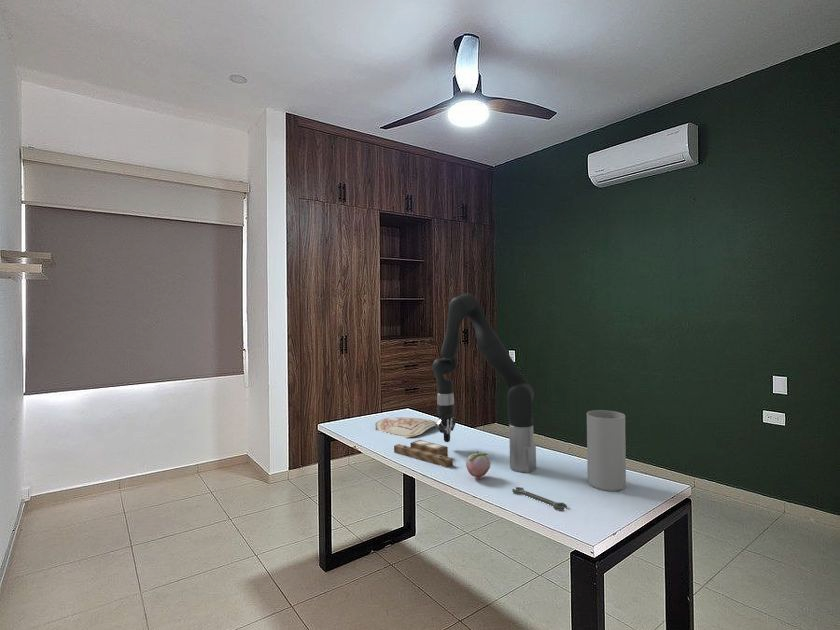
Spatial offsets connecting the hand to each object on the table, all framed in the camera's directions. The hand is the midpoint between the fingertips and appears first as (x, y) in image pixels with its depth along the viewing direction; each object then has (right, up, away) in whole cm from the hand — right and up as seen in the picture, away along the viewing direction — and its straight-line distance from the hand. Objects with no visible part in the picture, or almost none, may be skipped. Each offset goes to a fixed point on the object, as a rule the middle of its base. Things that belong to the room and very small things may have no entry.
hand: (447, 441), depth 200 cm
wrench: (+27, -5, -53) cm, 59 cm away
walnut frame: (-8, -4, -7) cm, 12 cm away
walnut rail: (-11, -4, -11) cm, 16 cm away
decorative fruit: (+9, -4, -33) cm, 35 cm away
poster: (-19, -4, +37) cm, 41 cm away
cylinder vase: (+54, -4, -42) cm, 68 cm away
